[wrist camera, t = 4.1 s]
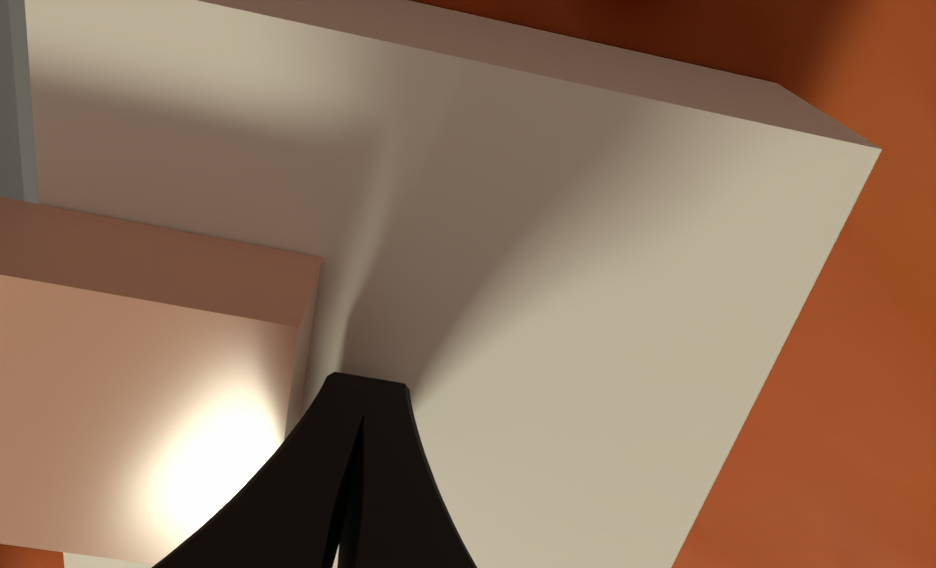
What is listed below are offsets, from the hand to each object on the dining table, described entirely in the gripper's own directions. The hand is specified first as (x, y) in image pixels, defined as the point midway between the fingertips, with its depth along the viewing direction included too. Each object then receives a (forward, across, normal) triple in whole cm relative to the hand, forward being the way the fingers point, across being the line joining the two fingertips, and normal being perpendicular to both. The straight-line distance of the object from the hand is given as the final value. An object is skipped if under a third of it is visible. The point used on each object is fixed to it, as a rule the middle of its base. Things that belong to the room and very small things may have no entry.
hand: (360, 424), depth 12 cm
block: (+1, +4, 0) cm, 4 cm away
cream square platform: (+5, -1, 0) cm, 5 cm away
